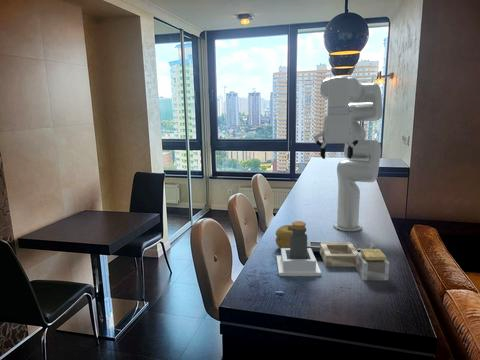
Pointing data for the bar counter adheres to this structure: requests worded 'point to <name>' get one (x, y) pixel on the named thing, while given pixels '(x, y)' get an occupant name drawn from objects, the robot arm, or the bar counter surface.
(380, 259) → the button
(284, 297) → the bar counter surface
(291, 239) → the bottle
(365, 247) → the pliers
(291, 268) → the cradle
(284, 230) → the pot
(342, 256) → the socket block
